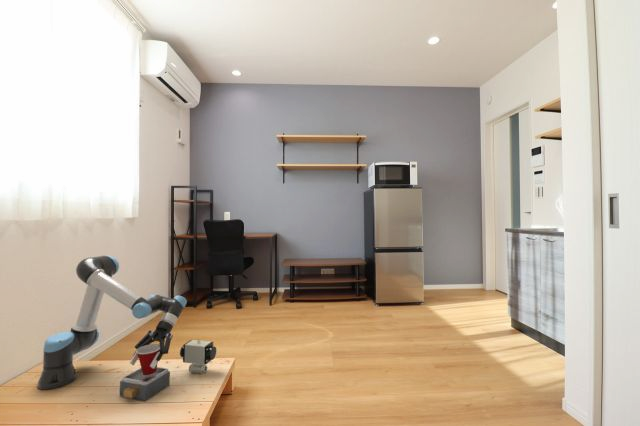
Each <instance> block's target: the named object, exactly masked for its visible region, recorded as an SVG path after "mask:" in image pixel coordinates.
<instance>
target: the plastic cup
mask: <svg viewBox="0 0 640 426" xmlns="http://www.w3.org/2000/svg"><path fill="white" fill-rule="evenodd" d="M135 351H136V353H137V354H138V357H139V358H138V360H139V364H140V368H142V373H143V375H150V374H153V373H155V372H156V370H157V367H158V363H157V364H156V366H155V368H154V369H153V368H152V367H150V365H151V363H152V361H153V360H154V358H155V356H156V354H157V353H160V347H159V344H156V343H151V344H149V345H145V346H142V347H140V348H138V349H136V350H135Z"/></svg>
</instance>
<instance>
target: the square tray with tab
mask: <svg viewBox="0 0 640 426" xmlns="http://www.w3.org/2000/svg"><path fill="white" fill-rule="evenodd" d="M170 377H171V371H169V368H167V367H161V366H157V370H156V372H155V373H153V374H150V375H143V373H142V368H141V367H139V368H138V369H135V370H134V371H132V372H130V373H129V374H126V375H124V376H122V377H121V380H120V381H119V397H120V398H124V399H130V400H134V401H139V402H144V403H146V402H147V401H149V400H150V399H151V398H153V397H155V396H157V395H158V394H159V393H161V392H163V391H164V390H165V389H167V388H168V387H170V384H171V382H170V380H171V378H170Z"/></svg>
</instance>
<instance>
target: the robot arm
mask: <svg viewBox="0 0 640 426" xmlns="http://www.w3.org/2000/svg"><path fill="white" fill-rule="evenodd" d="M119 264H120V263H119V261H118V259H117V258H116V257H114V256H112V255H100V256H93V257H91V256H90V257H87V258H86V257H85V258H84V259H82V260H80V261H79V262H78V264H77V266H76V269H75V272H76V275H77V277H78V278H79V280H80V281H82V282H83V283H84V284H86V285H87V286H86V289H85V293H84V296H83V299H82V302H81V306H80V309H79V313H78V315H77V316H78V317H77V320H76V322H75V323H74V324H72V325H71V328H70V331H63V332H60V333H55V334H53V335H50V336H49V337H48V338H47V339H46V340H45V341H44V345H43V346H44V347H43V366H42V371H41V373H40V377H39V379H38V381H37V389H39V388H40V389H39V390H53V389H57V388H62V387H65V386H67V385H69V384H71V383H72V382H74V381H75V380H76V379H77V372H76V369H75V366H74V363H73V362H74V361H73V360H74V355H77V354H78V353H80V352H83V351H85V350H87V349H89V348H91V347H92V346H94V345H95V344H96V343H97V342H98V340H99V337H100V332H99V330H98V325H96V321H97V318H98V314H99V311H100V308H101V304H102V300H103V298H104V294H106V295H107V296H108V297H111V298H112V299H113V300H116V302H118V303H120V304H122V305H123V306H125V307H126V308H127V309H130V310H131V314H132V316H133V317H134V318H135V319H144V318H147V317H149V316H151V315H152V314H155V313H157V312H163V313H164V314H163V315H162V317H161V319H160V321H159V322H158V323H157V325H156V327H155V330H154V331H151V330H148V332H147V333H146V334H145V335H144V336H143V337H142V339H140V341H138V342H137V343H136V344H135V346H134V348H135V349H136V350H137V349H138V348H140V347H142V346H145V345H150V344H153V343H155V342H159V344H158V345H159V347H160V351H159V353H157V354H156V356H155V358H154V360H153V361H152V363H151V365H150V367H152V368H153V369H154V368H155V366H156V364H157V363H158V362H160V361H161V359H162V358H163V356H164V355H167V354H169V351H170V348H171V347H170V345H171V343H172V342H171V340H172V338H174V337H173V334H172V333H171V331H172V330H173V328H174V326H175V325H176V323H177V321H178V319H179V317H180V315H181V314H182V312H183V310H184V309H185V307H186V305H187V302H188V300H187V299H186V297H184V296H181V295H175V296H174V297H173V298H170V297H166V296H163V295H160V294H151V295H149V296H148V298H147V299H146V298H145V297H143V296H141V295H139V294H138V293H136V292H135V291H133V290H131V289H130V288H129V287H127V286H125V285H124V284H123V283H121V282H119V281H118V280H116V279H114V278H113V276H114V275H115V274H117V272H118V271H119V268H120V265H119ZM136 350H135V351H134V353H133V355H132V358H131V359H130V361H129V364H131V366H135V364H136V362H138V360H139V357H138V354H137V353H136ZM157 365H158V364H157Z"/></svg>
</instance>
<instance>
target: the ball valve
mask: <svg viewBox="0 0 640 426" xmlns="http://www.w3.org/2000/svg"><path fill="white" fill-rule="evenodd" d="M179 355H180V357H181V358H182V362H183V363H184V364H190V365H189V366H188V372H189V373H190V374H191V373H192V374H200V375H203V374H206V373H207V371H208V365H207V364H209V363H210V362H211V361H212V360H214V359H215V358H216V356H217V347H216V346H215V344H214V341H210V340H209V341H208V340H201V339H196V340H194V339H190V340H188V341H187V342H185V343H184V344H183V345H182V346H181V348H180V350H179Z"/></svg>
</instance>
